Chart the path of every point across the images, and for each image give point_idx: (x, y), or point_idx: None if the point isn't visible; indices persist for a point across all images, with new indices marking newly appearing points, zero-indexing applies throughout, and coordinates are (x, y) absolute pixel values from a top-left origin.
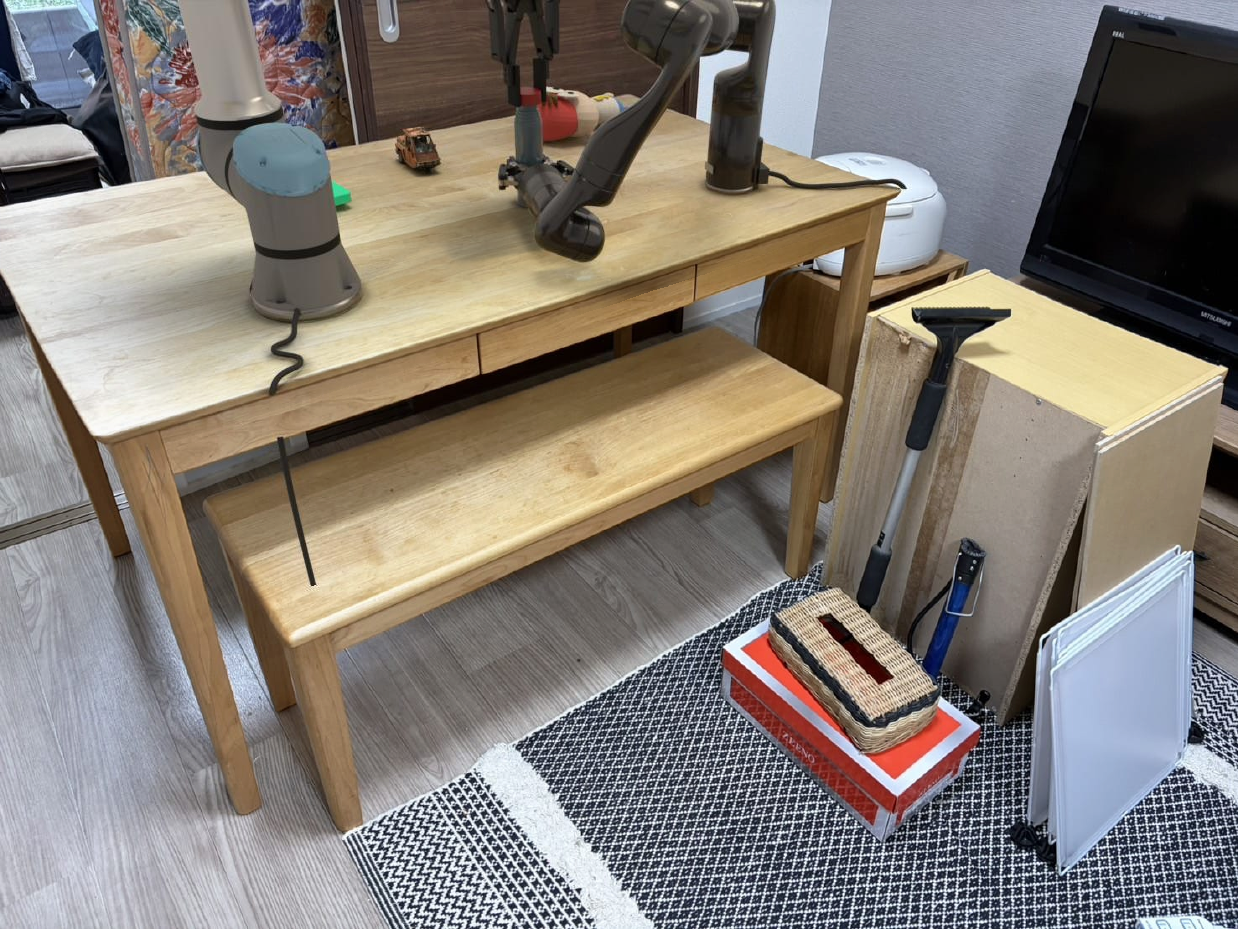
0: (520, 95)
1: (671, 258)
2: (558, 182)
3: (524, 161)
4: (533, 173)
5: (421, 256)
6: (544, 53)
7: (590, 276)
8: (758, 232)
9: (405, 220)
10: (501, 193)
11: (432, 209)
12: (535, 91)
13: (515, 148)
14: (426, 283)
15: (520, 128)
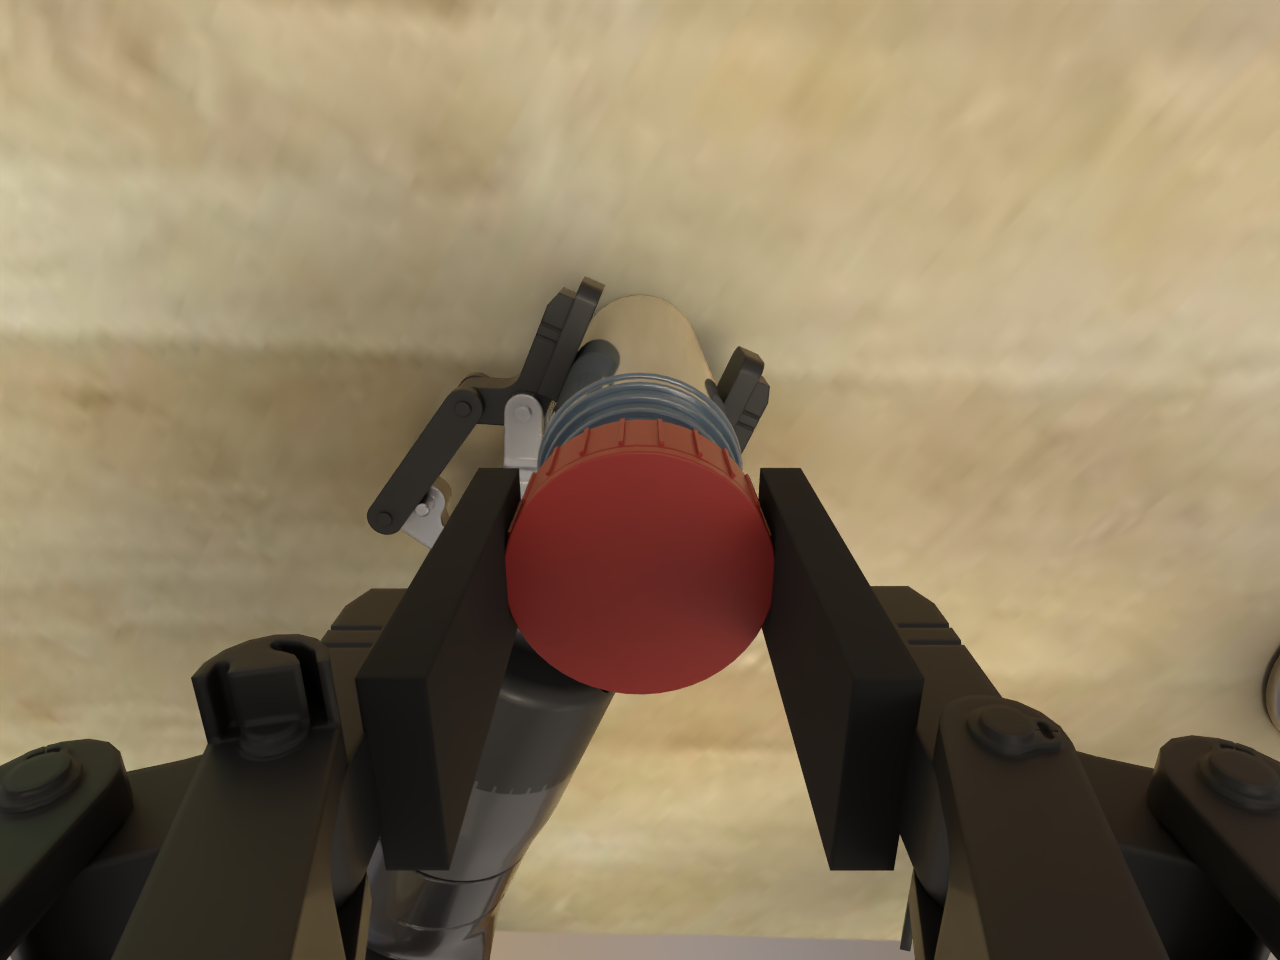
0: (510, 645)
1: (717, 928)
2: (468, 869)
3: None
4: None
5: (37, 541)
6: (920, 950)
7: None
8: None
9: (64, 202)
10: (592, 176)
11: (218, 156)
12: (690, 639)
13: (560, 392)
14: (3, 703)
15: None
